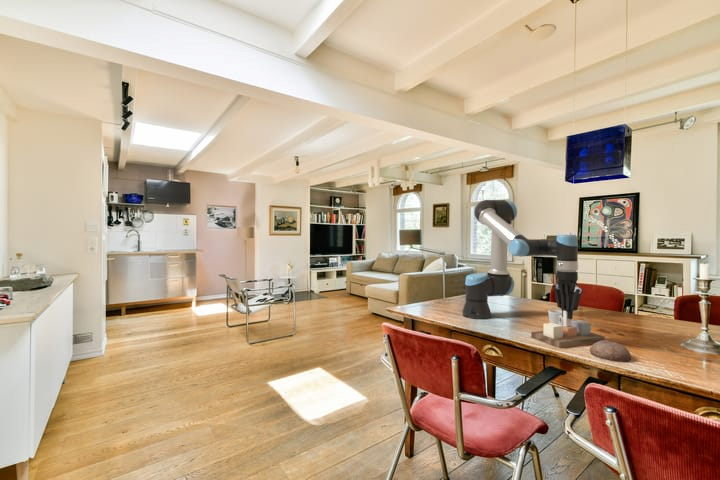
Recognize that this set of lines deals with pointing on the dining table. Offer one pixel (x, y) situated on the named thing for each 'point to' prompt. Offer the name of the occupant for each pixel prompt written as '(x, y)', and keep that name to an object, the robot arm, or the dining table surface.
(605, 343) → the decorative stone
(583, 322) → the block slate
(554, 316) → the cup
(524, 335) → the dining table surface
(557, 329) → the block cream
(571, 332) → the block terracotta
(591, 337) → the walnut board
